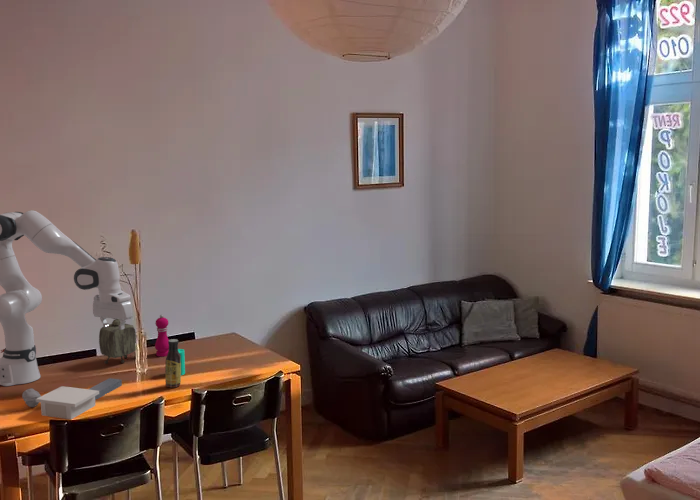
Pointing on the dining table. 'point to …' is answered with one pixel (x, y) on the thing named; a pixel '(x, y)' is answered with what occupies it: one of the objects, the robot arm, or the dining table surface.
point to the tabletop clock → (117, 340)
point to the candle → (182, 360)
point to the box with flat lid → (67, 402)
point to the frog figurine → (31, 397)
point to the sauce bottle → (173, 365)
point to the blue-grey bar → (106, 386)
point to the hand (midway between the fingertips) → (113, 328)
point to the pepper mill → (162, 337)
